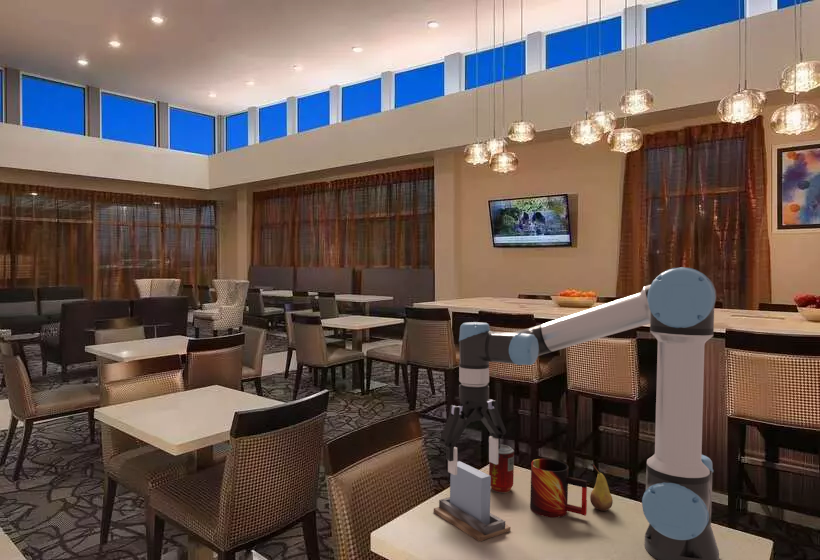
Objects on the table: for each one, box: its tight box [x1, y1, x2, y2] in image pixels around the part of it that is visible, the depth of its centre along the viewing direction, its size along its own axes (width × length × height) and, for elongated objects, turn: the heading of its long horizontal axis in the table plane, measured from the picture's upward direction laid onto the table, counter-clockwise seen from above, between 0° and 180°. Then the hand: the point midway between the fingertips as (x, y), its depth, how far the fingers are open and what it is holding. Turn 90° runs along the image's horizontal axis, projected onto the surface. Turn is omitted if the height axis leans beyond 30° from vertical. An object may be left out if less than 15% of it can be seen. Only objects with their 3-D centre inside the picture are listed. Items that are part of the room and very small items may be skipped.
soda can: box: [488, 444, 515, 494], centre depth 156 cm, size 7×7×12 cm
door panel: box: [449, 460, 492, 525], centre depth 135 cm, size 12×3×12 cm, turn 34°
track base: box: [433, 496, 511, 542], centre depth 135 cm, size 18×10×3 cm, turn 34°
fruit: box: [589, 463, 614, 512], centre depth 143 cm, size 6×6×12 cm
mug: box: [529, 458, 588, 519], centre depth 142 cm, size 10×14×12 cm
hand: (473, 468), depth 134 cm, fingers open, 13 cm apart
